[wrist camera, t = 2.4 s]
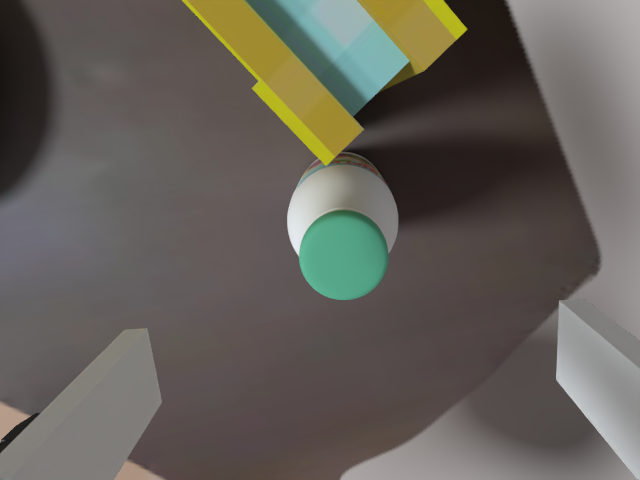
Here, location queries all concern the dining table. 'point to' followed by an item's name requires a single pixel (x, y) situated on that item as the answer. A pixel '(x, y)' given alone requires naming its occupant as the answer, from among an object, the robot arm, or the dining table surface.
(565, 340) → the robot arm
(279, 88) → the book
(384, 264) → the milk bottle
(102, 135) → the dining table surface
